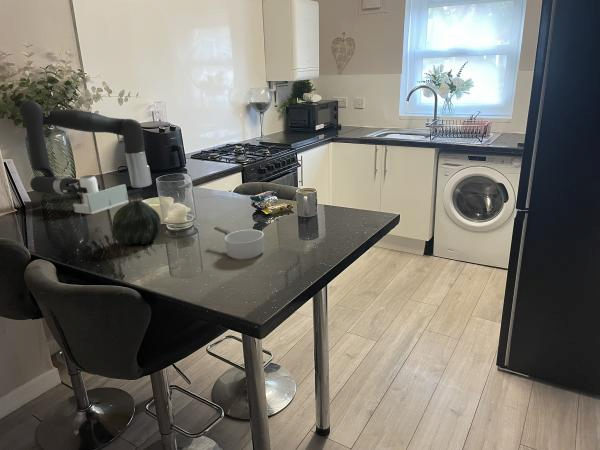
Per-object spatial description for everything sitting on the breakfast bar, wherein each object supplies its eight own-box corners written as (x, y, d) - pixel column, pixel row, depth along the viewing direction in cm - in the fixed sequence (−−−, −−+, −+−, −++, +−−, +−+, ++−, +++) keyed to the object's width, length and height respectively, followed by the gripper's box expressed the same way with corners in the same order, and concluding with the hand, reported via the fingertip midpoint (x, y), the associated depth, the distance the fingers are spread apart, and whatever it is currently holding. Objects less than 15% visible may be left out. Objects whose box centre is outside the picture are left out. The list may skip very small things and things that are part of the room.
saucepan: (232, 238, 145) (230, 222, 144) (273, 252, 132) (272, 234, 130) (202, 249, 138) (199, 232, 136) (242, 265, 124) (240, 246, 122)
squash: (112, 221, 153) (106, 195, 141) (158, 216, 158) (156, 190, 146) (116, 258, 147) (110, 234, 134) (164, 251, 152) (163, 227, 139)
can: (97, 206, 189) (91, 177, 185) (81, 206, 189) (75, 178, 185) (103, 202, 195) (98, 174, 191) (88, 202, 195) (83, 175, 191)
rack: (112, 200, 206) (108, 183, 204) (128, 201, 201) (125, 184, 199) (74, 212, 191) (70, 193, 188) (91, 214, 185) (87, 195, 183)
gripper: (49, 181, 189) (75, 183, 181) (79, 173, 201) (105, 175, 193) (53, 198, 191) (79, 202, 183) (83, 190, 203) (109, 193, 195)
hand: (92, 188), depth 188 cm, fingers closed on can, 5 cm apart
